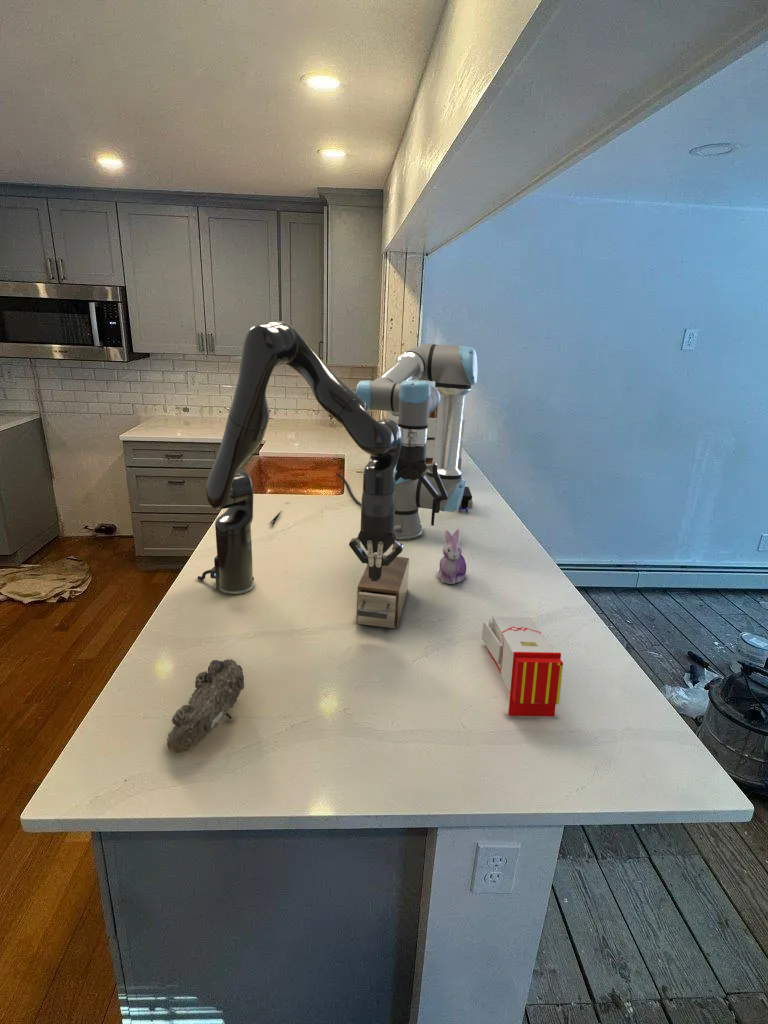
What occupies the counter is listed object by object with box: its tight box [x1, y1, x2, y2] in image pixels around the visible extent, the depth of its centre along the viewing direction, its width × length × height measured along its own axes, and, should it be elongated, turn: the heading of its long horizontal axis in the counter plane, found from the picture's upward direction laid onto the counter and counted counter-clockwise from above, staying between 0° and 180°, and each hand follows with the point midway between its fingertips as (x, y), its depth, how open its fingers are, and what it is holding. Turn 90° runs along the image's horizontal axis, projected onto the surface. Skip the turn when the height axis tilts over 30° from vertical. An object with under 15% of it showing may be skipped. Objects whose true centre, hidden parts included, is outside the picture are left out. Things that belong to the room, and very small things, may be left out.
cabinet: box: [356, 553, 410, 629], centre depth 149 cm, size 20×10×10 cm, turn 171°
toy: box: [481, 615, 564, 718], centre depth 123 cm, size 12×13×30 cm
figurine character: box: [458, 486, 474, 513], centre depth 227 cm, size 7×8×15 cm
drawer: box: [356, 590, 396, 629], centre depth 144 cm, size 24×9×8 cm, turn 171°
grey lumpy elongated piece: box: [166, 658, 245, 754], centre depth 106 cm, size 22×10×15 cm
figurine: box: [438, 528, 467, 585], centre depth 166 cm, size 9×10×15 cm
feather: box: [268, 510, 282, 527], centre depth 212 cm, size 2×28×2 cm
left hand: (375, 579), depth 132 cm, fingers closed
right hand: (406, 522), depth 150 cm, fingers open, 13 cm apart
